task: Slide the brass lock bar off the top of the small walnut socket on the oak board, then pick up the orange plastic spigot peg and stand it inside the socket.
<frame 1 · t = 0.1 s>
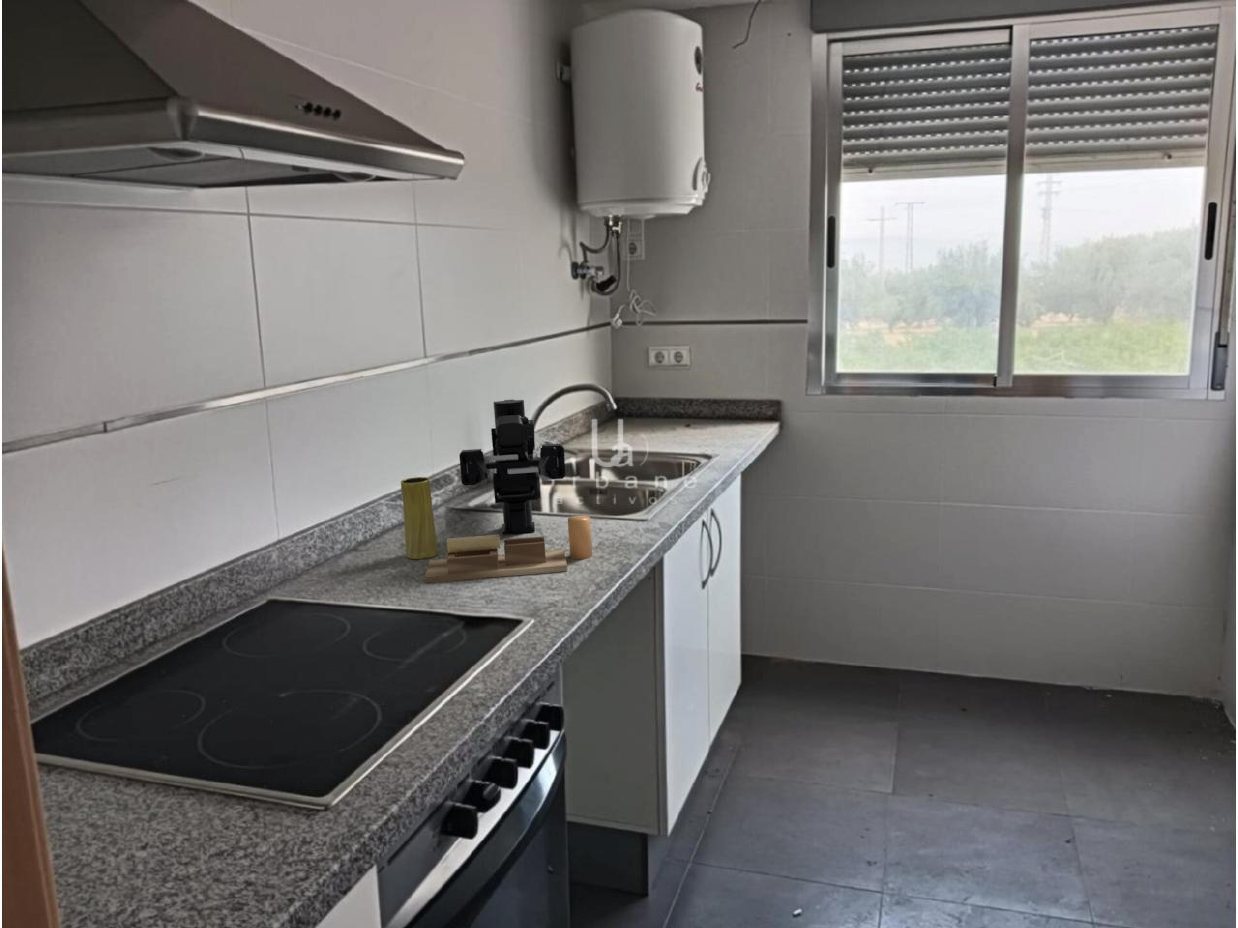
hand: (513, 473, 171), 17 cm above the worktop, tool horizontal, fingers open, 9 cm apart
vase: (422, 555, 184), on the worktop
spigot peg: (581, 555, 178), on the worktop
dock board: (497, 568, 173), on the worktop
lock bar: (473, 543, 172), point 5 cm above the worktop, slide at 0.0 cm
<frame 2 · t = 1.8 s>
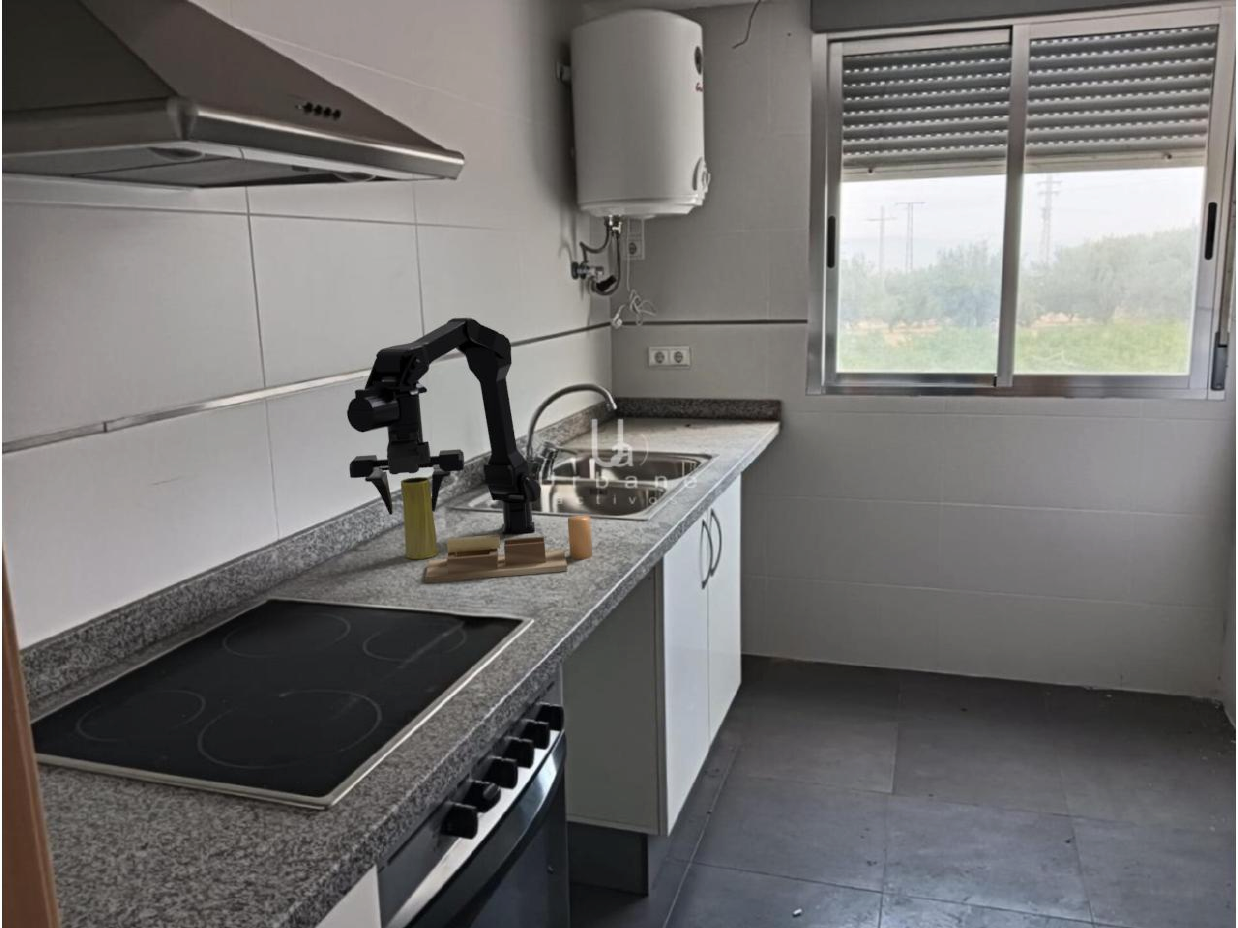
hand: (412, 512, 170), 11 cm above the worktop, tool pointing down, fingers open, 7 cm apart
nothing on the worktop moved.
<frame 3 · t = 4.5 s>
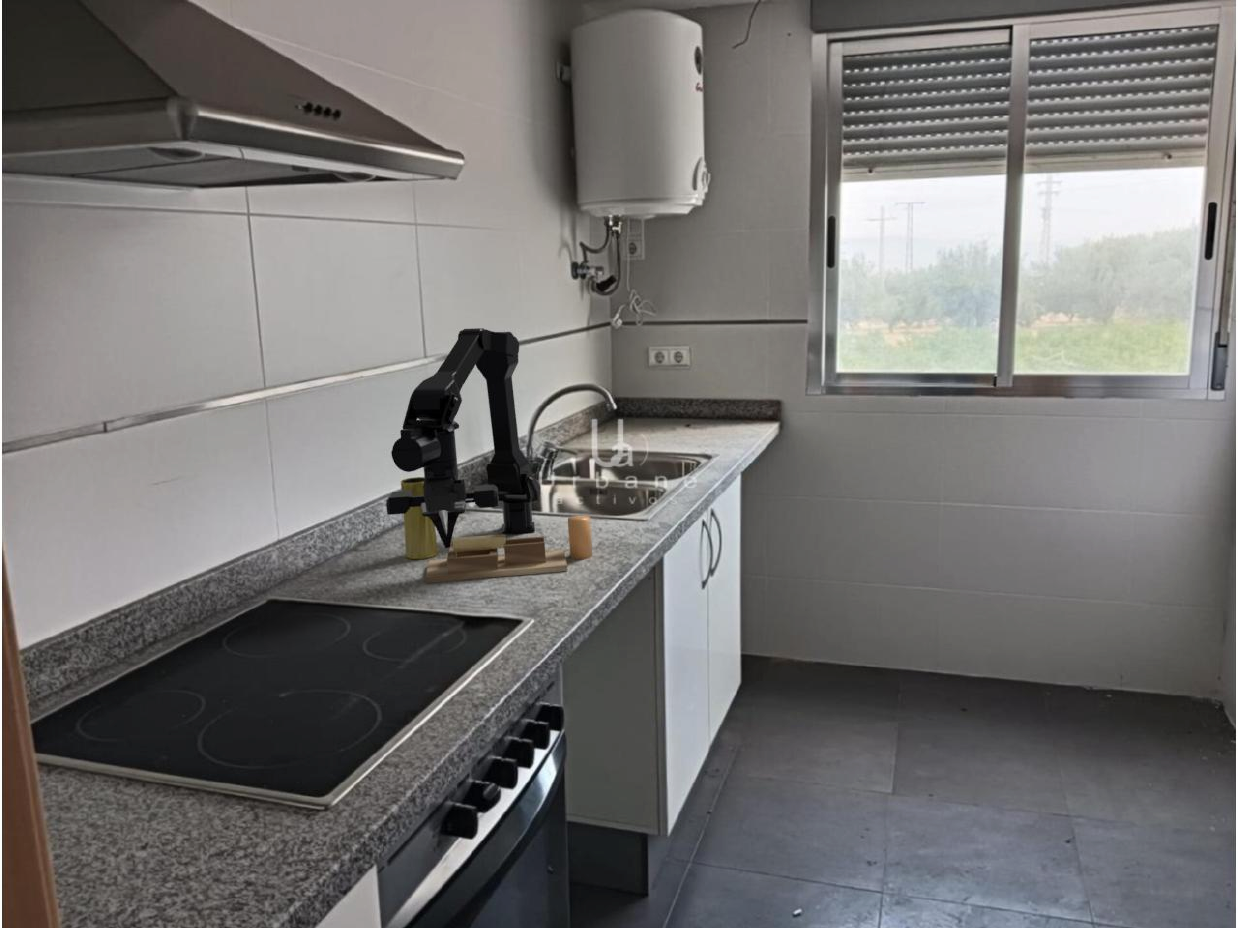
hand: (447, 547, 172), 4 cm above the worktop, tool pointing down, fingers closed
lock bar: (479, 543, 172), point 5 cm above the worktop, slide at 1.0 cm, touching gripper
everything else where it was.
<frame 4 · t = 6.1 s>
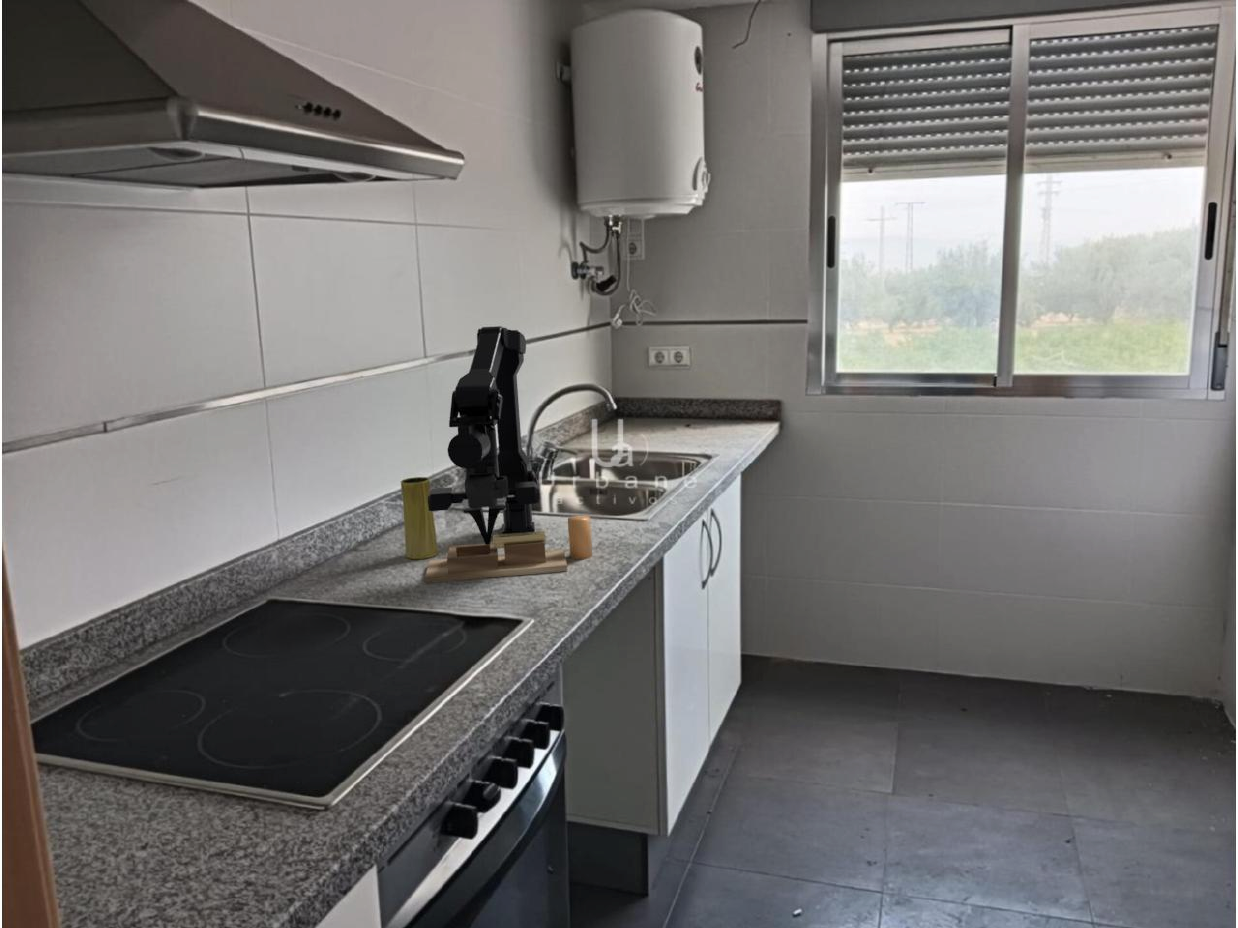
hand: (487, 544, 173), 4 cm above the worktop, tool pointing down, fingers closed
lock bar: (519, 539, 173), point 5 cm above the worktop, slide at 7.9 cm, touching gripper
everything else where it was.
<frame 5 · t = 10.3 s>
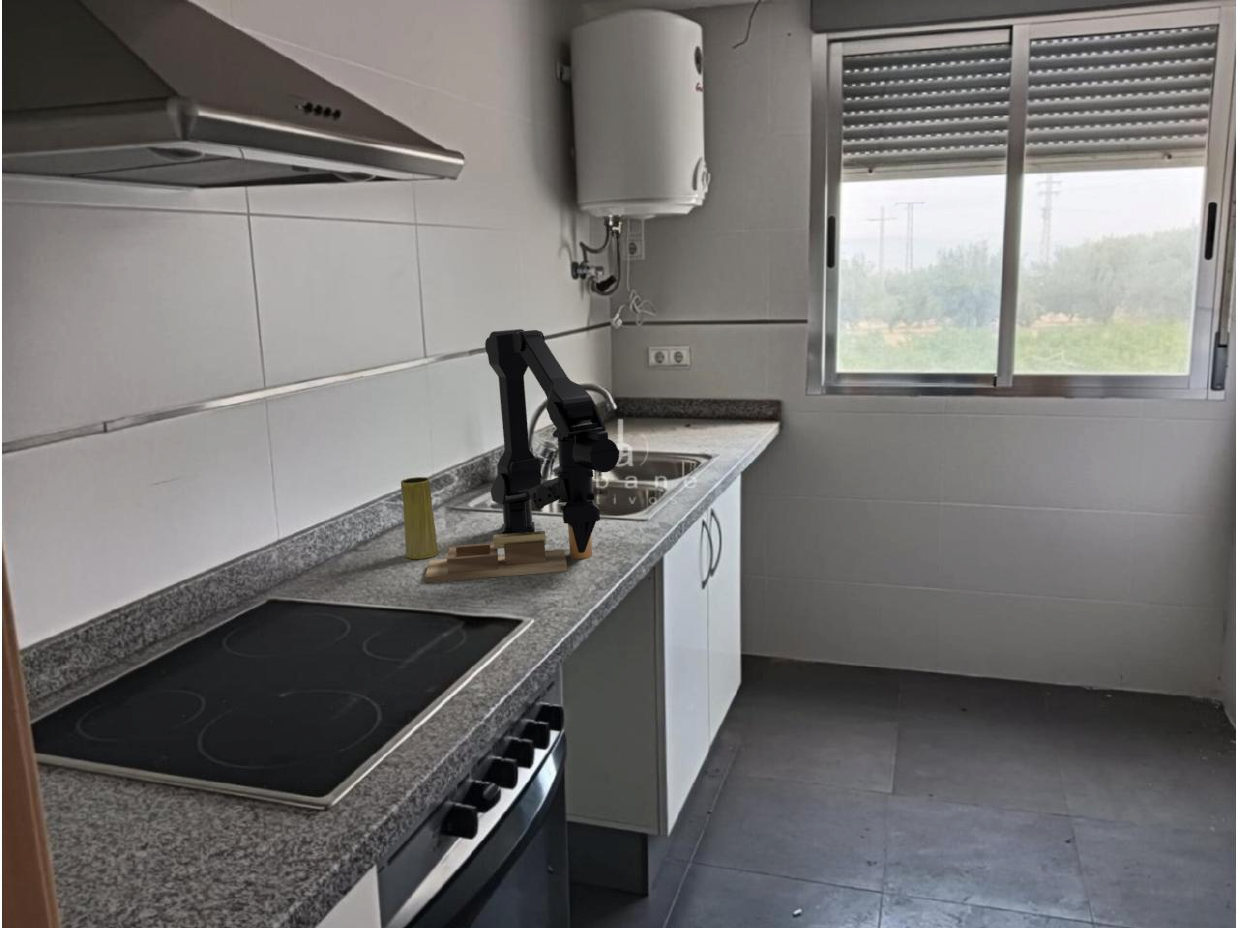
hand: (580, 549, 178), 1 cm above the worktop, tool pointing down, fingers closed on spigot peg, 4 cm apart
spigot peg: (581, 555, 178), on the worktop, touching gripper
lock bar: (519, 539, 173), point 5 cm above the worktop, slide at 8.0 cm
everything else where it was.
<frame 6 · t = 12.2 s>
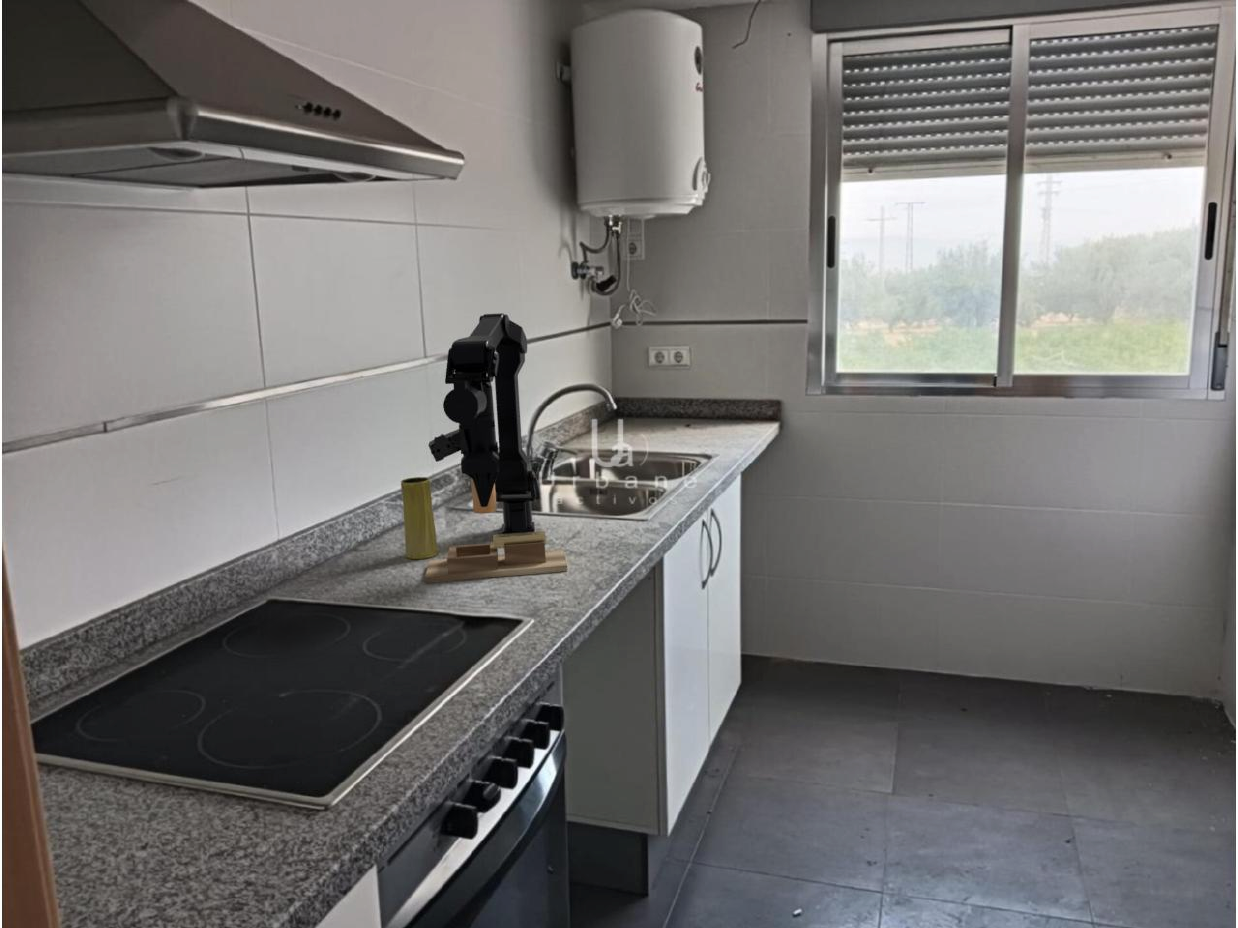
hand: (484, 503, 171), 12 cm above the worktop, tool pointing down, fingers closed on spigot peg, 4 cm apart
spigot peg: (485, 510, 172), point 10 cm above the worktop, touching gripper
everything else where it was.
when the fingers open (4 cm above the worktop, at t = 14.1 s): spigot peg drops 2 cm, resting on dock board.
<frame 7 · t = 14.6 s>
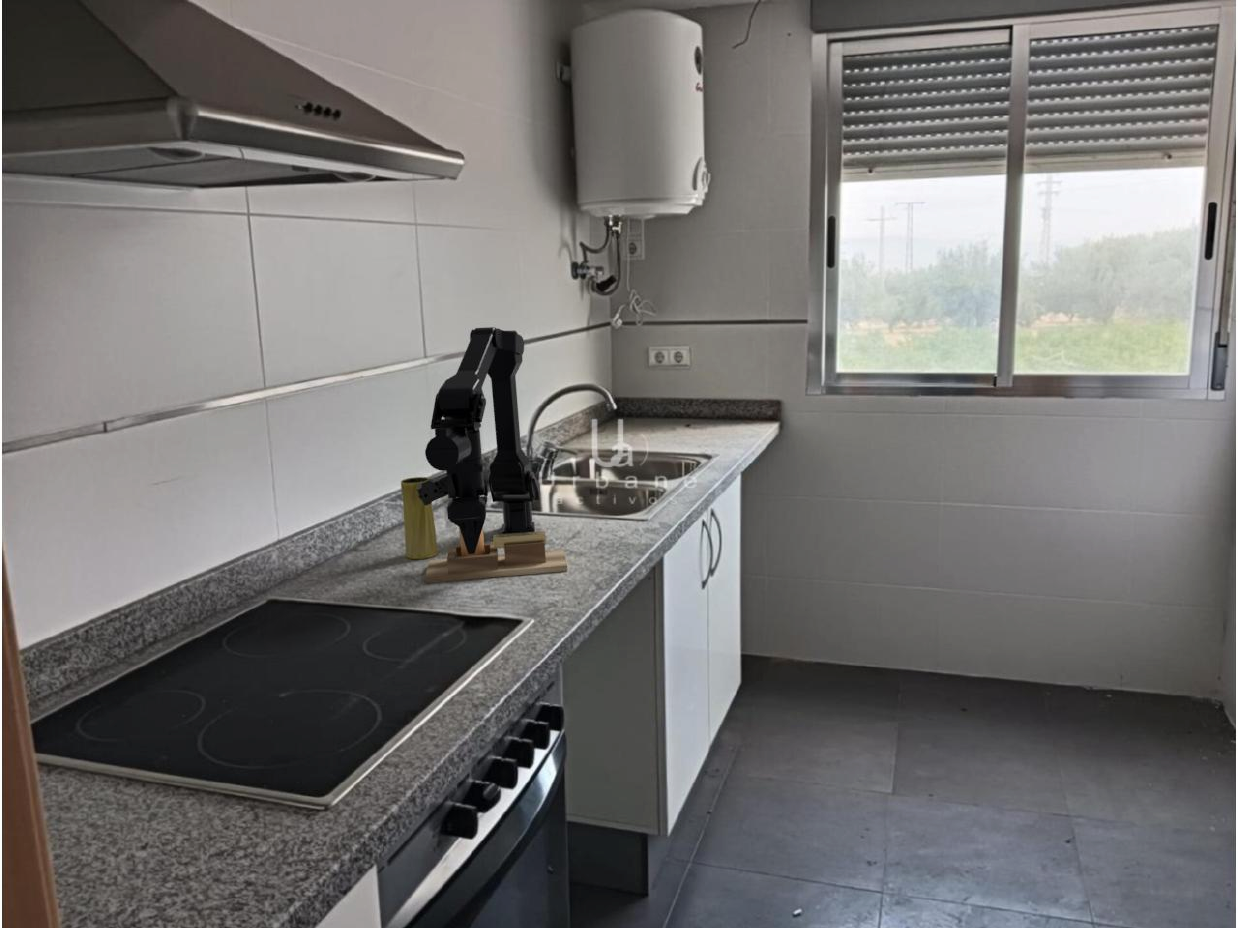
hand: (472, 546, 172), 4 cm above the worktop, tool pointing down, fingers open, 9 cm apart
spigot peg: (474, 564, 173), point 1 cm above the worktop, touching dock board
everything else where it was.
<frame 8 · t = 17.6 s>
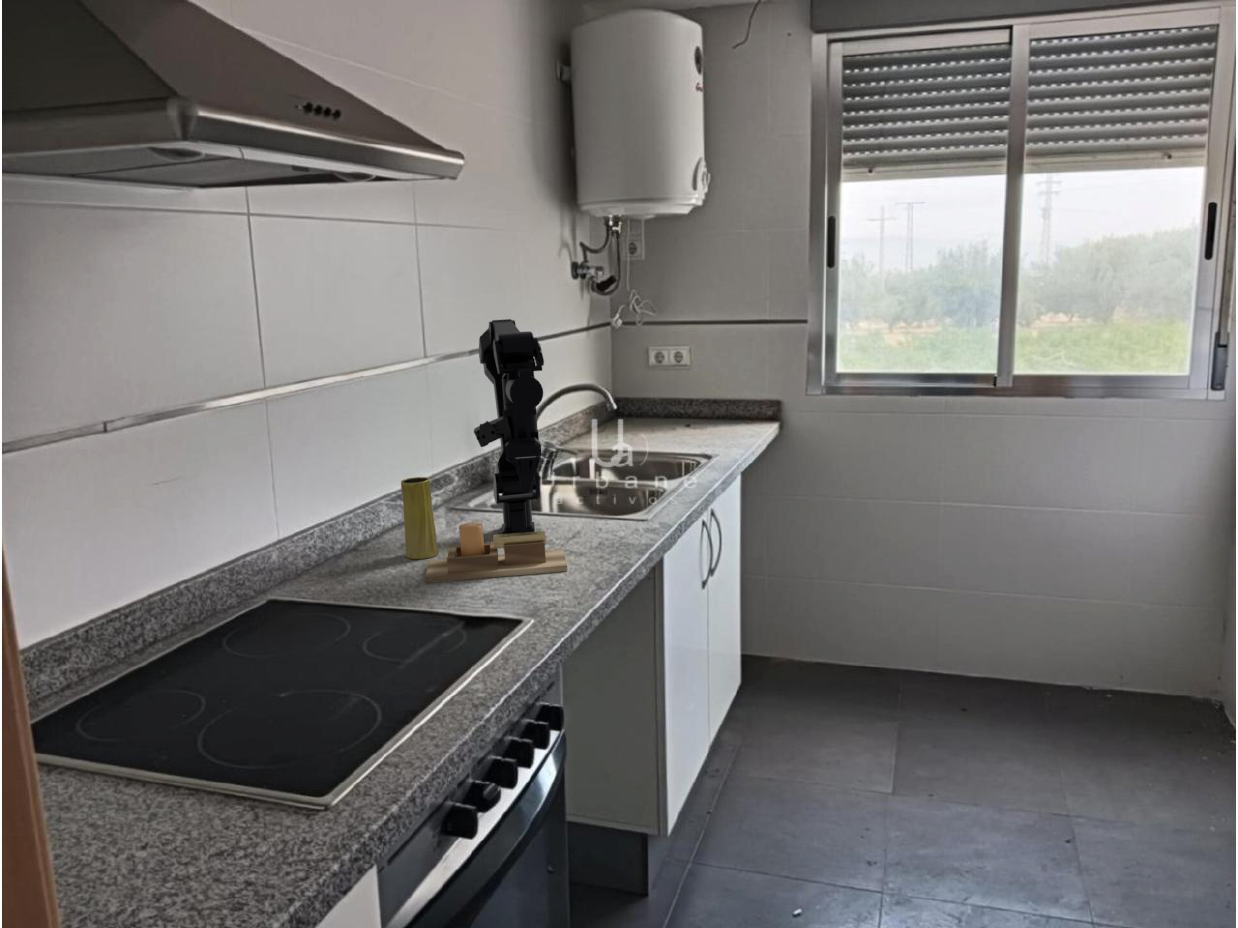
hand: (525, 487, 181), 12 cm above the worktop, tool pointing down, fingers open, 9 cm apart
nothing on the worktop moved.
at the end: lock bar slide at 8.0 cm; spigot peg 0.1 cm from the target spot on the dock board, point 1.0 cm above the dock board's base; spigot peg tilted 1° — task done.
